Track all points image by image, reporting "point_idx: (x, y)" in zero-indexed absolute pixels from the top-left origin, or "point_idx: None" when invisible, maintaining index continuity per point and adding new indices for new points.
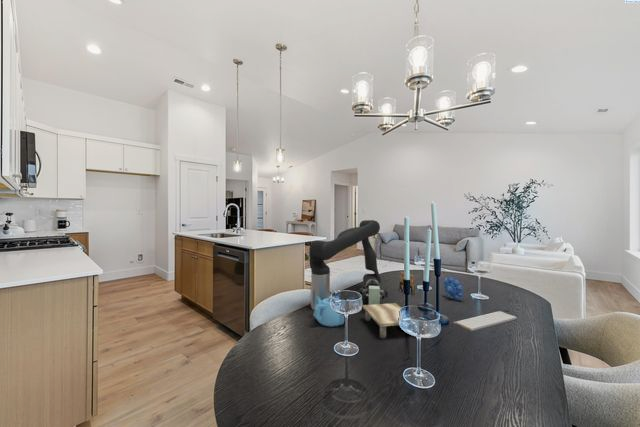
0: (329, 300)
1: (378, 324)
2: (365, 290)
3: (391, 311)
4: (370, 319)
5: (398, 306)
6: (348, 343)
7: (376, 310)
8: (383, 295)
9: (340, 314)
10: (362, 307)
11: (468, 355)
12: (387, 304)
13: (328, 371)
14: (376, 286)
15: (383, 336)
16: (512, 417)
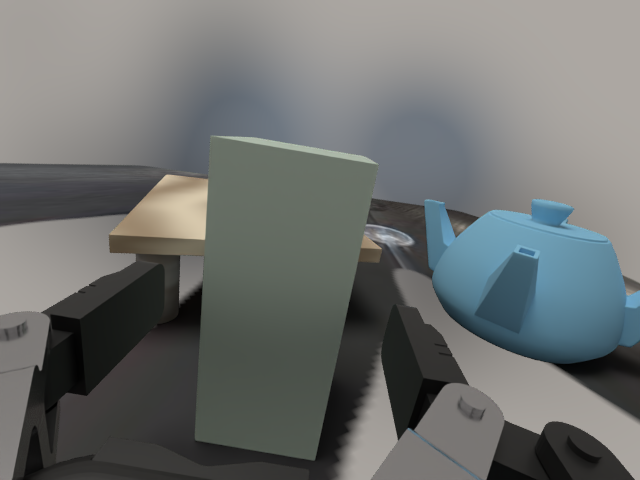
0: (559, 226)
1: None
2: (460, 460)
3: None
4: None
5: (141, 213)
6: (383, 240)
7: None
8: (144, 263)
9: (454, 237)
10: (378, 260)
11: (113, 191)
12: (201, 233)
13: (394, 217)
14: (262, 143)
15: None
16: (193, 173)
